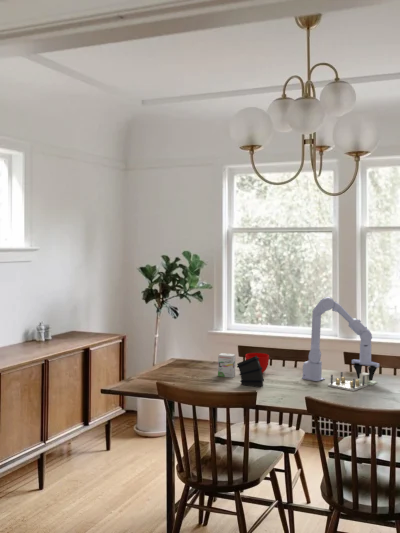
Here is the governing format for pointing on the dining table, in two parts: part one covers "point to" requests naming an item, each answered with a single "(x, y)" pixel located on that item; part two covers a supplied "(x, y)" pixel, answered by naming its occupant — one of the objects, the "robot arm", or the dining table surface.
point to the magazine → (251, 372)
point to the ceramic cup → (260, 359)
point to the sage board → (366, 379)
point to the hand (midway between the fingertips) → (365, 379)
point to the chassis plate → (347, 383)
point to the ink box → (226, 365)
